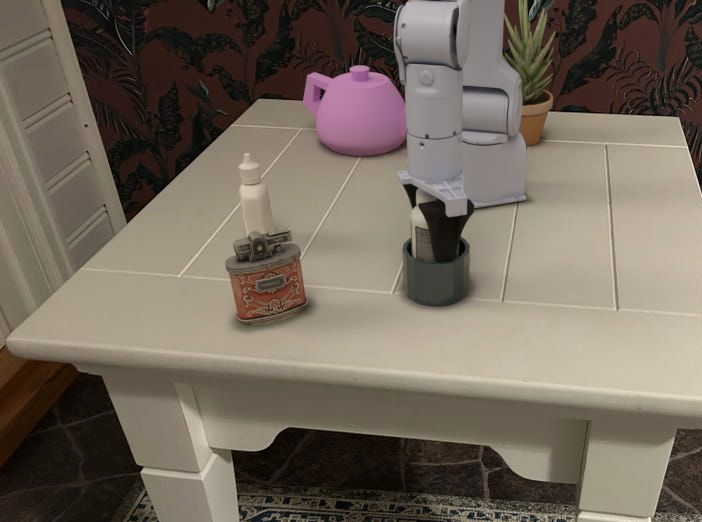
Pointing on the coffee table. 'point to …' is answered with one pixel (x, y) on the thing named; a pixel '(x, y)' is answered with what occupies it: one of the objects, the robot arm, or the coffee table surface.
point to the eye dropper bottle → (254, 198)
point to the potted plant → (531, 73)
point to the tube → (436, 277)
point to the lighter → (266, 278)
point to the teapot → (357, 112)
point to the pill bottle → (422, 230)
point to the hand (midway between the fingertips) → (436, 247)
